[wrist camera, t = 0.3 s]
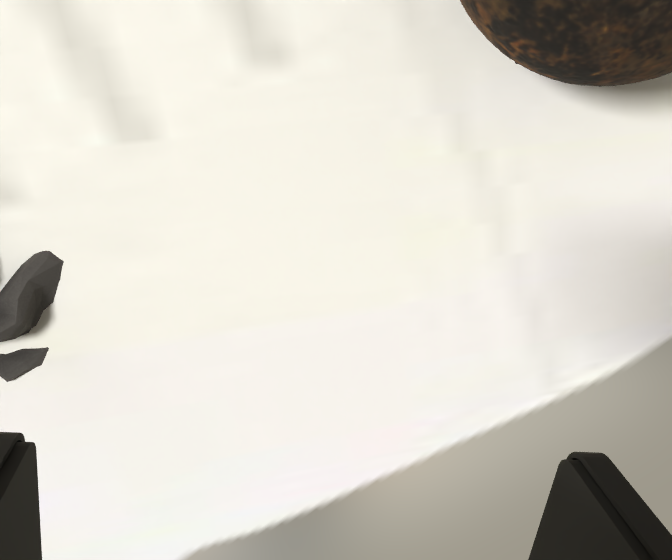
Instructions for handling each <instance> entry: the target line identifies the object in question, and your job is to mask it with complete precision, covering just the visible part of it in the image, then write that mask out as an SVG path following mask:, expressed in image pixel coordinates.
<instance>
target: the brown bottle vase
mask: <svg viewBox="0 0 672 560" xmlns="http://www.w3.org/2000/svg"><path fill="white" fill-rule="evenodd" d="M460 1H461V3H462V5H463V7H464V8H465V10H466V12H467V14H468V15H469V17H470V18H471V20H472V21H473V23H474V24H475V25H476V26H477V28H478V29H479V30H480V31H481V32H482V33H483V34H484V36H485V37H486V38H487V39H488V40H489V41H490V42H491V43H492V44H493V45H494V46H495V47H496V48H498V49H499V50H500V51H501V52H502V53H503V54H505V55H506V56H507V57H509V58H510V59H512V60H514V61H515V63H516V64H520V65H522V66H523V67H525V68H527V69H529V70H530V71H533V72H536V73H538V74H540V75H543V76H546V77H548V78H551V79H554V80H558V81H561V82H565V83H570V84H577V85H589V86H615V85H624V84H631V83H636V82H641V81H645V80H649V79H653V78H657V77H660V76H663V75H666V74H668V73H671V72H672V0H460Z"/></svg>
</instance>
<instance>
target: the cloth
mask: <svg viewBox="0 0 672 560" xmlns="http://www.w3.org/2000/svg"><path fill="white" fill-rule="evenodd" d="M63 262H64V261H62V260H61V259H59V258H58V257H56V256H55V255H54V254H53V253H51V252H50V251H42V252H39V253H37V254H34V255H33V256H32V257H31V258H30V259H28V260H27V261H26V262H25V263H24V264H22V265H21V267H20V268H19V269H18V270H17V271H16V273H15V274H14V275H13V276H12V278H11V279H10V280H9V281H8V283H7V284H6V285H5V287H4V288H3V289H2V290H1V292H0V342H3V341H7V340H11V339H15V338H17V337H19V336H21V335H24V334H26V333H29V331H30V330H31V328H33V327H34V326H36V324H37V322H38V320H39V319H40V317H41V314H42V312H43V310H44V309H46V308H47V307H48V306H49V305H50V304H52V303H53V301H54V297H55V294H56V290H57V287H58V283H59V281H60V276H61V270H62V266H63ZM48 349H49V348H48V347H47V348H38V349H21V350H18V351H15V352H12V353H9V354H0V376H1V377H2V378H3V379H5V380H6V381H7V382H8V381H11V380H13V379H14V378H16V377H18V376H20V375H22V374H24V373H26V372H29V371H31V370H32V369H34V368H36V367H37V366H40V365H42V363H43V361H44V358H45V356H46V354H47V351H48Z"/></svg>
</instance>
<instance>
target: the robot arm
mask: <svg viewBox="0 0 672 560" xmlns="http://www.w3.org/2000/svg"><path fill="white" fill-rule="evenodd" d="M0 560H42V551H41V532H40V514H39V495H38V476H37V457H36V446H35V443H33V442H25V439H24V436H23V434H22V433H11V432H0ZM528 560H672V535H671V534H670V533H669V532H668V530H667V529H666V528H665V527H664V525H663V524H662V523H661V522H660V520H659V519H658V518H657V517H656V516H655V514H654V513H653V512H652V511H651V509H650V508H649V507H648V506H647V504H646V503H645V502H644V501H643V500H642V498H641V497H640V496H639V495H638V493H637V492H636V491H635V490H634V488H633V487H632V486H631V485H630V483H629V482H628V481H627V480H626V479H625V477H624V476H623V475H622V474H621V472H620V471H619V470H618V469H617V467H616V466H615V465H614V464H613V463H612V461H611V460H610V459H609V458H608V457H607V456H606V455H605V454H603V453H589V452H573V453H571V454H570V455H569V456H568V457H567V459H566V460H562V461H561V462H560V464H559V466H558V469H557V472H556V475H555V478H554V482H553V485H552V488H551V491H550V494H549V497H548V500H547V503H546V507H545V510H544V513H543V516H542V519H541V522H540V525H539V528H538V531H537V535H536V538H535V541H534V544H533V547H532V550H531V553H530V557H529V559H528Z"/></svg>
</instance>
